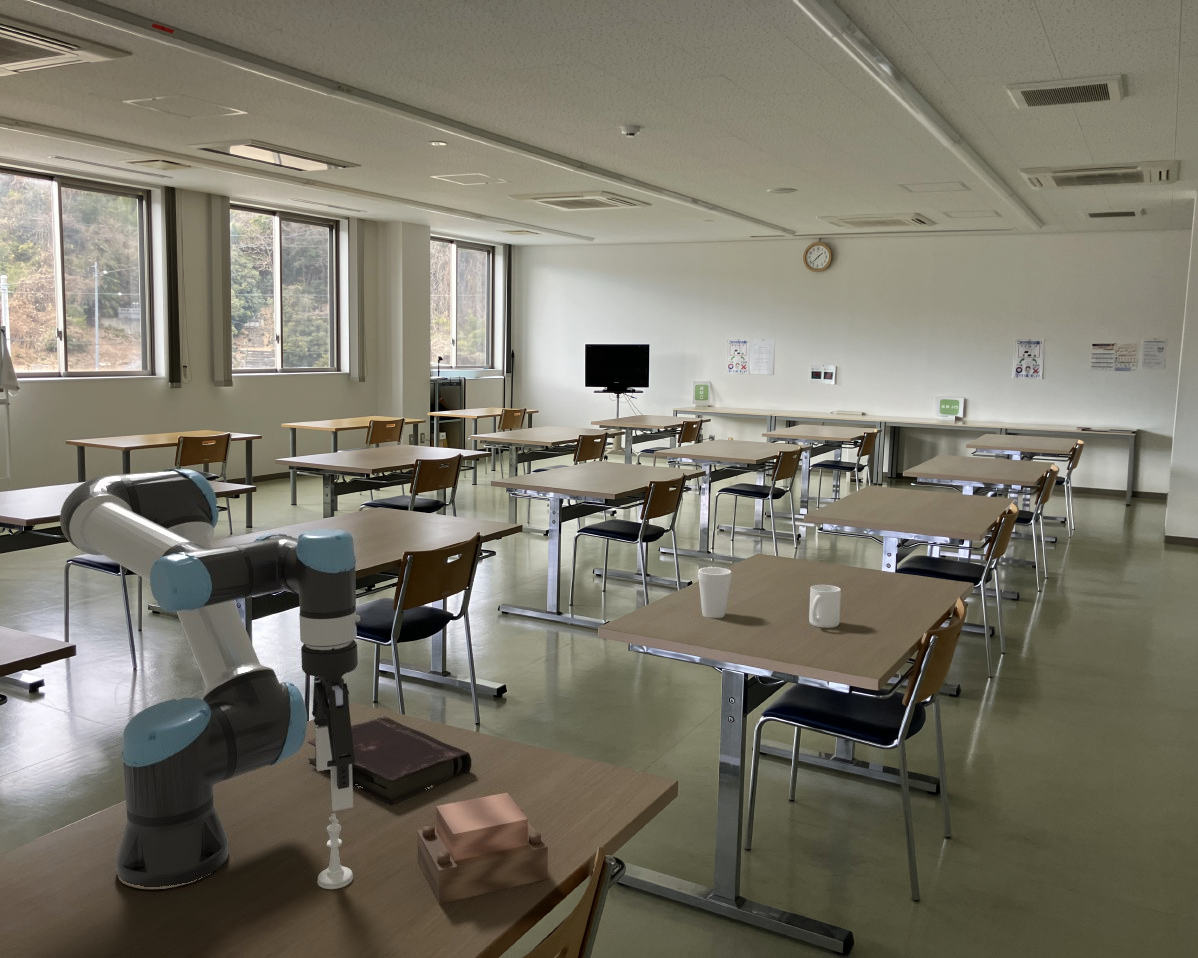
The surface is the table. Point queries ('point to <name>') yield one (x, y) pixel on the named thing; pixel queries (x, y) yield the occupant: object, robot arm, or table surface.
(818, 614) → the mug
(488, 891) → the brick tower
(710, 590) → the foam cup
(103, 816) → the table surface
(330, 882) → the chess piece
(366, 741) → the diary
